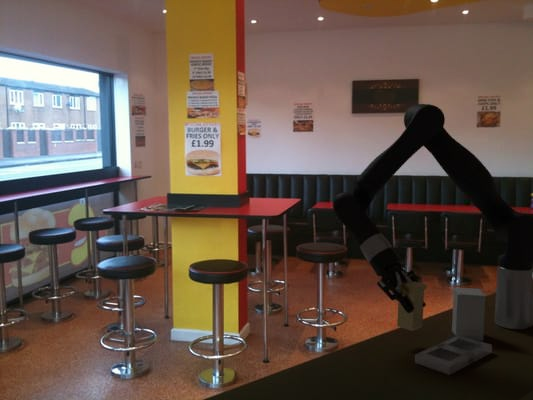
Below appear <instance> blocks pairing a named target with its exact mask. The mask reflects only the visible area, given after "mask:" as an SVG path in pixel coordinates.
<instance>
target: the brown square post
mask: <svg viewBox="0 0 533 400" xmlns="http://www.w3.org/2000/svg"><path fill="white" fill-rule="evenodd" d="M400 285H401V289H402V290H403V291H404V293H405V297H406V296H407V298H408V299H409V301H410V302H411V304H412V305H413V307H414V310H413V311H412V312H411V313H407V312H406V311H405V309H404V308H403V306H402V305H401V303H400V302H399V301H397V302H398V304H397V325H396V327H399V328H401V329H402V328H403V329H405V330H408V331H411V332H414V331H416V330H419V329H422V328H423V321H424V320H423V319H424V308H423V303H424V302H425V299H424V297H425V290H427V284H425V283H421V282H419V283H417V282H413V281H410V282H408V281H405V282H402V284H400ZM397 286H398V284H397ZM399 293H400V292H399Z"/></svg>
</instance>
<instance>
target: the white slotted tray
mask: <svg viewBox="0 0 533 400" xmlns="http://www.w3.org/2000/svg"><path fill="white" fill-rule="evenodd" d="M492 349H493V344H490V343H488V342H487V343H486V342H484V341H478V340H475V339H471V338H468V337H463V336H460V335H458V336H453V337H451V338H449V339H447V340H445V341H442V342H440V343H438V344H436V345H433V346H431V347H429V348H426V349H424V350H422V351H419V352H417V353H415V354H414V364H416V365H419V366H423V367H426V368H428V369H431V370H433V371H436V372H439V373H442V374H445V375H448V376H451V375H452V374H454V373H457V372H458V371H459V370H462V369H464V368H465V367H468V366H469V365H471V364H473V363H475V362H477V361H479V360H481V359H482V358H484V357H486V356H488V355H490V354H492V352H493V351H492Z"/></svg>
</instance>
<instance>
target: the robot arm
mask: <svg viewBox="0 0 533 400" xmlns="http://www.w3.org/2000/svg"><path fill="white" fill-rule="evenodd" d="M445 121H446V118H445V114H444V112H443V110H442V109H441V108H440V107H438V106H437V105H433V104H430V103H429V104H428V103H427V104H426V103H418V104H414V105H411V106H410V107H409V108H407V109H406V111H405V113H404V116H403V124H404V127H405V130H404V131H403V132H402V133H401V134H400V136H399V137H397V139H395V141H393V143H392V144H391V145H390V146H389V147H388V148H387V147H386V149H385V150H384V151H382V152H381V153H380V154H379V155H377V156H376V157H375V158H374V159H373V160H372V161H371V162H370V163H369V164H368V165H367V167H366V168H365V169H364V170H363V171H362V172H361V173H360V175H359V176H357V178H356V180H355V187H354V189H353V190H352V192H351V193H349V192H346V191H345V192H340V193H338V194H337V195H336V196H335V197H334V199H333V201H332V209H333V212H334V214H335V215H336V217H338V219H339V220H340V222H341V223H342V224H343V226H344V227H345V228H346V229H347V230H348V231H349V233H350V234H351V236H352V238H353V239H354V241H355V242H356V244H357V245H358V247H359V248H360V251H361V253H362V255H363V256H364V258H365V259H366V261H367V262H368V264H369V265H370V266H371V268H372V270H373V271H374V273H375V275H376V276H377V277H381V279H380V280H378V281H377V283H376V284H377V286H378V287H379V288H380V290H382V292H383V293H384V294H385V295H387V297H388V298H389V299H390V300H391V301H397V302H398V301H399V302H400V303H401V305H402V306H403V308H404V309H405V311H406V312H407V313H411V312H412V311H413V310H414V307H413V305H412V304H411V302H410V301H409V299H408V298H407V296H406V297H405V293H404V291H403V290H402V289H401V285H400V284H402V282H405V281H408V282H410V281H413V282H417V283H420V282H419V280H418V278H417V275H416V273H415V272H414V270H413V269H412V270H411V269H410V270H409V271H406V270H405V268H403V267H402V259H401V257H400V255H398V253H397V252H396V250H395V249H394V247H393V246H392V245H391V243H390V242H389V240H388V239H387V238H386V237H385V236H384V235H383V233H382V232H381V231H380V229H379V227H378V226H377V225H376V223H375V222H374V221H373V220H372V219H371V218H370V217H369V216H368V215H367V214H366V212H367V210H368V209H369V207H370V205H371V204H372V202H373V200H374V199H375V197H376V195H377V194H378V193H379V192H380V191H381V190H382V189H383V188H384V186H385V185H386V184H387V183H388V182H389V181H390V180H391V178H393V176H395V174H396V173H397V172H398V170H400V169H401V167H402V166H403V165H404V164H406V162H408V161H409V160H410V158H412V157H413V156H414V155H415V154H416V153H417V152H419V151H420V149H422V148H423V147H424V148H426V150H427V151H428V152H429V153H430V154H431V155H432V156H433V158H434V159H435V161H436V162H437V163H438V166H440V168H441V169H442V170H443V171H444V173H445V174H446V175H447V176H448V177H449V178H450V181H452V182H453V184H454V185H455V186H456V187H457V188H458V189H459V191H461V192H462V194H464V196H466V197H465V198H467V199H468V200H469V201H470V202H471V204H473V206H475V208H477V210H479V212H480V213H481V214H482V215H483V217H484V219H486V221H487V223H488V224H489V225H490V227H491V228H492V230H493V232H494V233H495V235H497V237H498V238H500V239H501V240H502V241H505V242H507V243H506V250H505V253H503V254H501V255H499V256H498V258H497V268H496V270H497V274H496V288H495V289H496V292H495V307H494V323H495V325H496V326H499V327H501V328H505V329H512V330H526V329H528V328H531V327H533V293H532V283H533V282H532V281H533V279H532V278H533V215H531V214H529V213H524V212H520V211H516V210H515V209H513V208H512V207H511V206H510V205H509V204H508V203H507V202H506V201H505V200H504V199H503V198H502V196H501V195H500V194H499V192H498V189H497V185H496V182H495V180H494V177H493V175H492V174H491V172H490V171H489V170H488V168H487V167H486V166H485V164H483V163H482V161H481V160H480V159H479V158H478V157H477V156H476V155H475V154H474V153H473V152H472V151H470V150H469V149H468V148H467V147H465V146H464V145H462V143H460V142H458V141H457V140H456V139H454V137H452V135H450V134H449V132H448V131H447V130H446V129H445ZM397 284H398V286H397ZM399 292H400V293H399ZM426 305H427V304H426V303H425V301H424V303H423V309H424V308H425V307H426Z"/></svg>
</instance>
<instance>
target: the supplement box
mask: <svg viewBox="0 0 533 400" xmlns="http://www.w3.org/2000/svg"><path fill="white" fill-rule="evenodd" d="M452 300H453V301H452V320H451V321H452V322H451V333H453V334H454V335H455V336H454V337H456V336H458V335H460V336H463V337H467V338H470V339H474V340H477V341H480V342H484V331H485V310H486V295H485V294H484V292H483V290H482V289H480V288H470V287H469V288H467V287H466V288H465V287H464V288H463V287H454V288H453V299H452Z"/></svg>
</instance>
